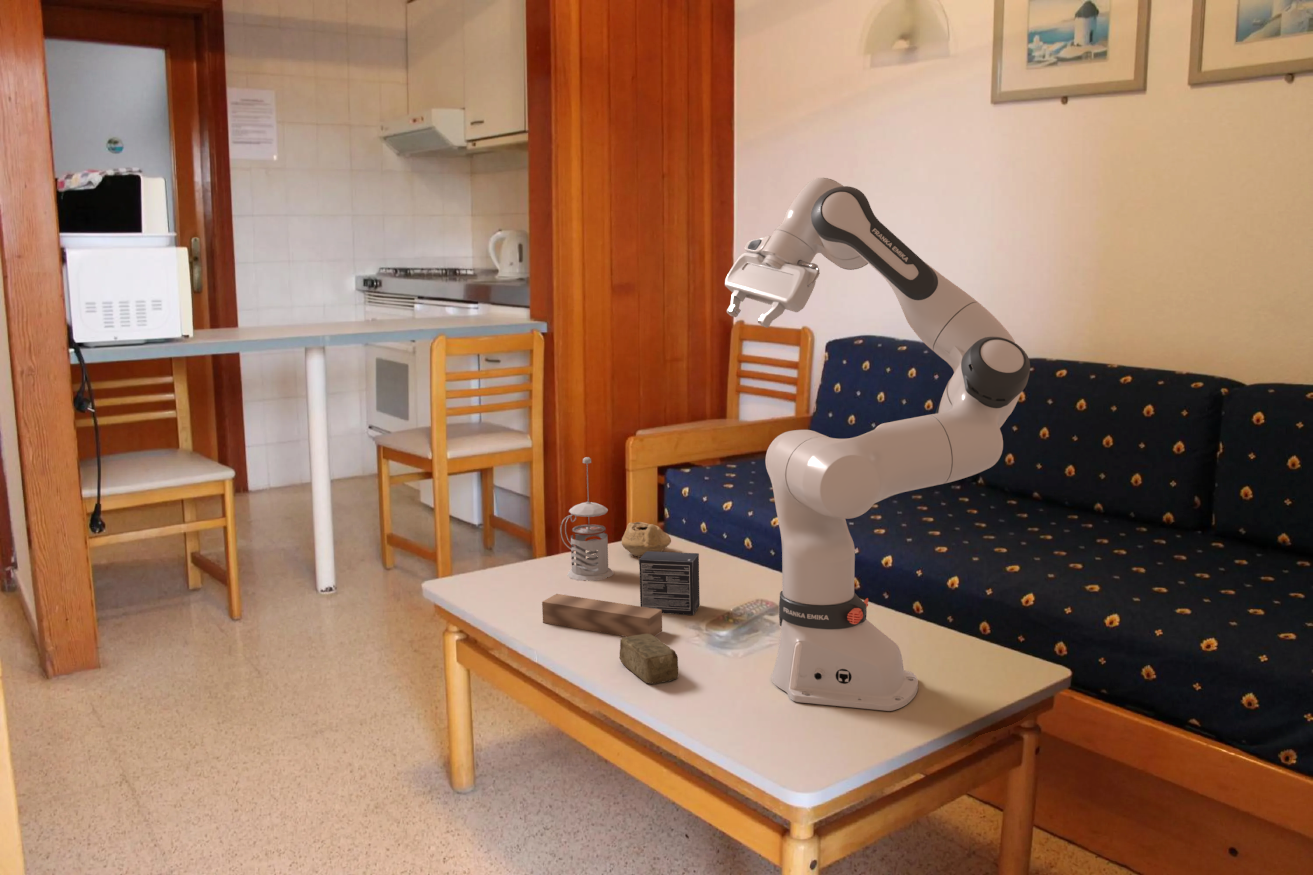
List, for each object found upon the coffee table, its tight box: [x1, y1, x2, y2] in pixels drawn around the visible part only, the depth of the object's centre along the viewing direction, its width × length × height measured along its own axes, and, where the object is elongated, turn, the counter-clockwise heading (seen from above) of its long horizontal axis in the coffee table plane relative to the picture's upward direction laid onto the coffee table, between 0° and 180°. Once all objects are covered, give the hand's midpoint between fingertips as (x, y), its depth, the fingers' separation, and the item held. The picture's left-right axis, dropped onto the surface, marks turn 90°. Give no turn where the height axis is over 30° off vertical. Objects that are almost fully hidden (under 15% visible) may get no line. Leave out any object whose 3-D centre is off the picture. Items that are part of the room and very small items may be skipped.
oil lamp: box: [621, 521, 672, 558], centre depth 240 cm, size 11×15×8 cm
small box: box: [638, 551, 701, 616], centre depth 203 cm, size 11×6×10 cm, turn 77°
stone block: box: [619, 634, 679, 685], centre depth 174 cm, size 6×12×5 cm, turn 27°
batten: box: [541, 593, 663, 637], centre depth 194 cm, size 22×5×4 cm, turn 63°
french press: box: [559, 456, 614, 582], centre depth 225 cm, size 10×12×25 cm
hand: (746, 320), depth 197 cm, fingers open, 8 cm apart
